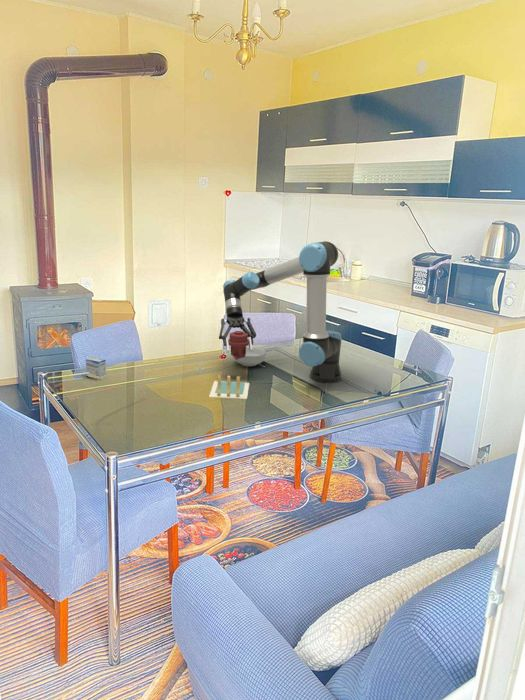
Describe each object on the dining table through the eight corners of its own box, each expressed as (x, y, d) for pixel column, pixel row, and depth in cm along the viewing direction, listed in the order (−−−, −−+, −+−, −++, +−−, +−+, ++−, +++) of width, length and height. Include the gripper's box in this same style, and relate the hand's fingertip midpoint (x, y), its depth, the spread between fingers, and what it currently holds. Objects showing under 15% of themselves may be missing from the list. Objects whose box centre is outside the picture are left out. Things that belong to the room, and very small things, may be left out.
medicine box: (86, 377, 233) (85, 359, 231) (92, 374, 237) (91, 356, 235) (100, 380, 231) (99, 361, 228) (106, 377, 234) (105, 359, 232)
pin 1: (220, 394, 217) (221, 375, 215) (220, 396, 216) (220, 376, 214) (217, 394, 218) (217, 374, 215) (217, 396, 216) (217, 376, 214)
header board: (249, 384, 233) (249, 382, 233) (246, 401, 215) (246, 398, 215) (214, 382, 233) (214, 380, 233) (208, 398, 215) (208, 396, 215)
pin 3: (239, 396, 217) (240, 376, 215) (239, 397, 216) (240, 377, 213) (236, 395, 217) (236, 375, 215) (235, 397, 216) (236, 377, 213)
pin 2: (230, 395, 217) (230, 375, 215) (229, 396, 216) (230, 376, 213) (226, 395, 217) (227, 375, 215) (226, 396, 216) (227, 376, 213)
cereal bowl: (271, 363, 264) (271, 350, 262) (253, 371, 250) (254, 358, 248) (244, 356, 272) (244, 344, 270) (225, 364, 259) (225, 351, 257)
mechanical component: (251, 355, 241) (246, 361, 232) (230, 353, 243) (224, 359, 234) (251, 330, 238) (246, 335, 228) (230, 328, 240) (225, 333, 230)
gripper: (255, 313, 249) (262, 354, 239) (209, 314, 244) (214, 355, 234) (258, 305, 243) (265, 346, 233) (211, 306, 238) (215, 348, 228)
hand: (239, 351), depth 233 cm, fingers closed on mechanical component, 10 cm apart
